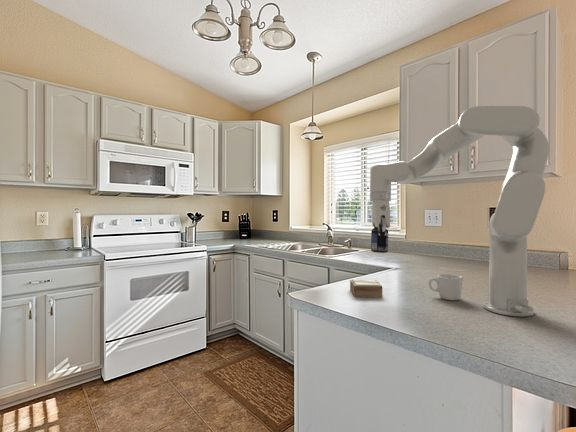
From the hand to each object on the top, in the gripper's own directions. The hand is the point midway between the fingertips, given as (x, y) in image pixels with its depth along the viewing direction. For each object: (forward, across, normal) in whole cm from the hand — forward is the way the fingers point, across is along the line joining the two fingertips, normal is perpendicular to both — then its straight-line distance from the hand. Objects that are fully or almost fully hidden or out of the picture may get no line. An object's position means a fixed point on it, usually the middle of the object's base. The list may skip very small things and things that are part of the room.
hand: (379, 244), depth 115 cm
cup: (+18, -5, -22) cm, 29 cm away
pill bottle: (+3, 0, 0) cm, 3 cm away
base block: (+18, 0, +5) cm, 19 cm away
